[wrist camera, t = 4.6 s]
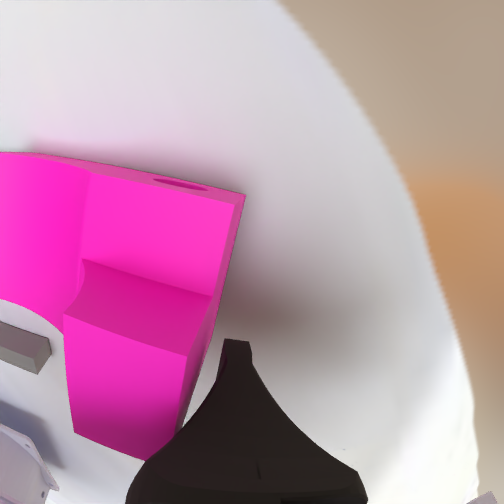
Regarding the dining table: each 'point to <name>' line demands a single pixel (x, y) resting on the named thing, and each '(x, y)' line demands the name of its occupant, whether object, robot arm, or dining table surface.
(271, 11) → the dining table surface
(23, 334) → the channel
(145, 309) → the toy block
